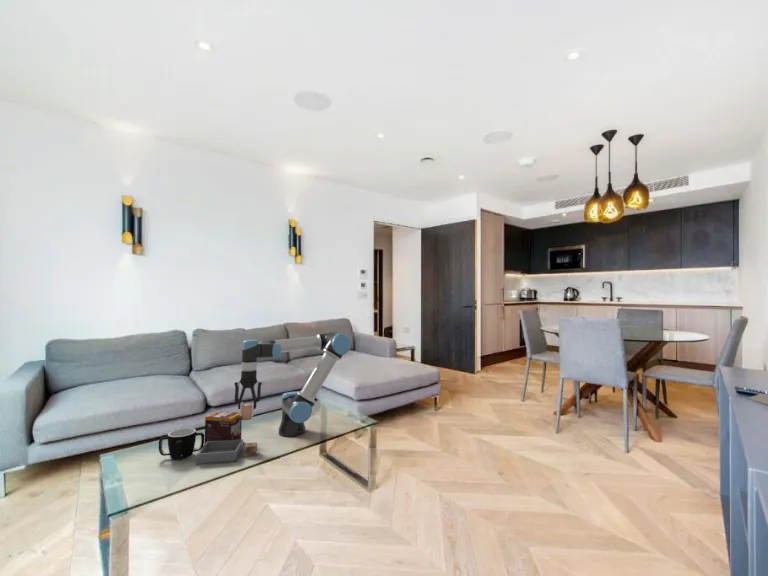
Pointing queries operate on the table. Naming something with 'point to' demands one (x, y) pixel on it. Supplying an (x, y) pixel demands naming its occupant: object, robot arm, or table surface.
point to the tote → (220, 452)
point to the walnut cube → (250, 449)
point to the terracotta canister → (246, 411)
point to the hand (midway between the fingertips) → (246, 415)
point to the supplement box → (223, 426)
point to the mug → (181, 443)
